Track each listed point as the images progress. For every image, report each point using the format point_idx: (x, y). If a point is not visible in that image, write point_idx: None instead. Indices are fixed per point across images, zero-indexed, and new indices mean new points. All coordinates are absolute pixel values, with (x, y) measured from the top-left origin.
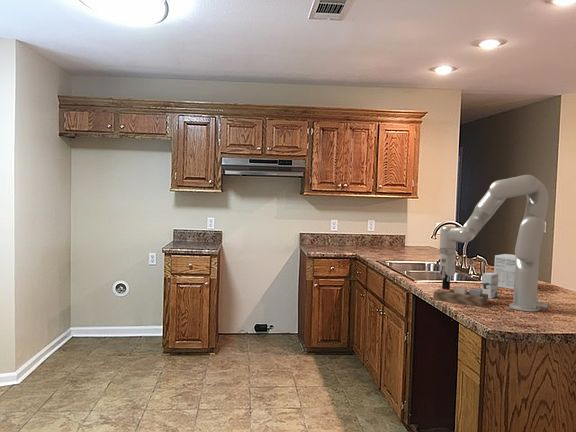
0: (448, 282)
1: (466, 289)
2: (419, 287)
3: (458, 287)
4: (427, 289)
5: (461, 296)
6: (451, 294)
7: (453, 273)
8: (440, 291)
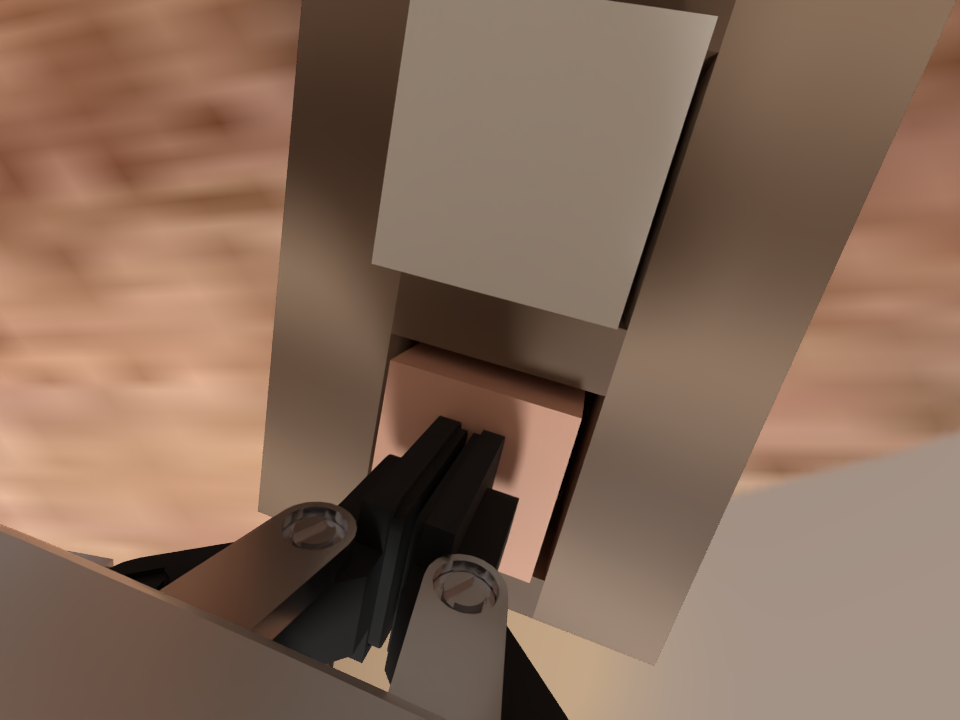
0: (458, 532)
1: (507, 3)
2: None
3: (509, 231)
4: None
5: (884, 125)
6: (786, 361)
7: (46, 606)
8: (593, 557)
